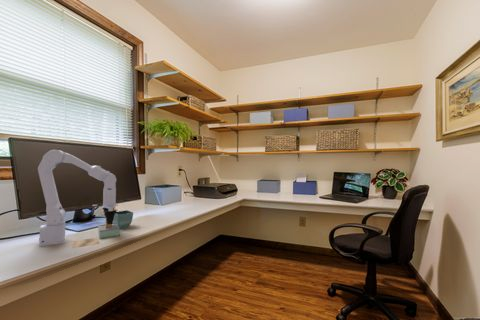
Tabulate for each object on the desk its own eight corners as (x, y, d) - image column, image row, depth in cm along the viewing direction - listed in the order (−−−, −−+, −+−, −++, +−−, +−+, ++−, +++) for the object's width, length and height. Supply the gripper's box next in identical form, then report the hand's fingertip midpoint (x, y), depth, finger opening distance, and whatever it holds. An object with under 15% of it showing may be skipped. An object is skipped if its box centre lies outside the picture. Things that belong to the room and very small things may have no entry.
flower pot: (126, 224, 139) (127, 209, 139) (133, 227, 133) (133, 212, 133) (111, 227, 132) (111, 212, 132) (117, 230, 126) (118, 214, 126)
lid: (99, 232, 113) (99, 220, 113) (97, 227, 120) (98, 216, 120) (119, 229, 118) (119, 218, 118) (117, 225, 125) (117, 214, 125)
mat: (72, 248, 101) (72, 247, 101) (73, 241, 109) (73, 241, 109) (99, 244, 106) (99, 243, 106) (97, 237, 114) (97, 237, 114)
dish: (99, 239, 113) (99, 232, 113) (98, 234, 120) (98, 227, 120) (119, 236, 118) (119, 229, 118) (117, 231, 125) (117, 225, 125)
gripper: (120, 197, 115) (119, 224, 115) (116, 194, 127) (115, 218, 127) (104, 199, 111) (103, 226, 111) (101, 195, 123) (101, 219, 123)
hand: (109, 222), depth 119 cm, fingers open, 7 cm apart
